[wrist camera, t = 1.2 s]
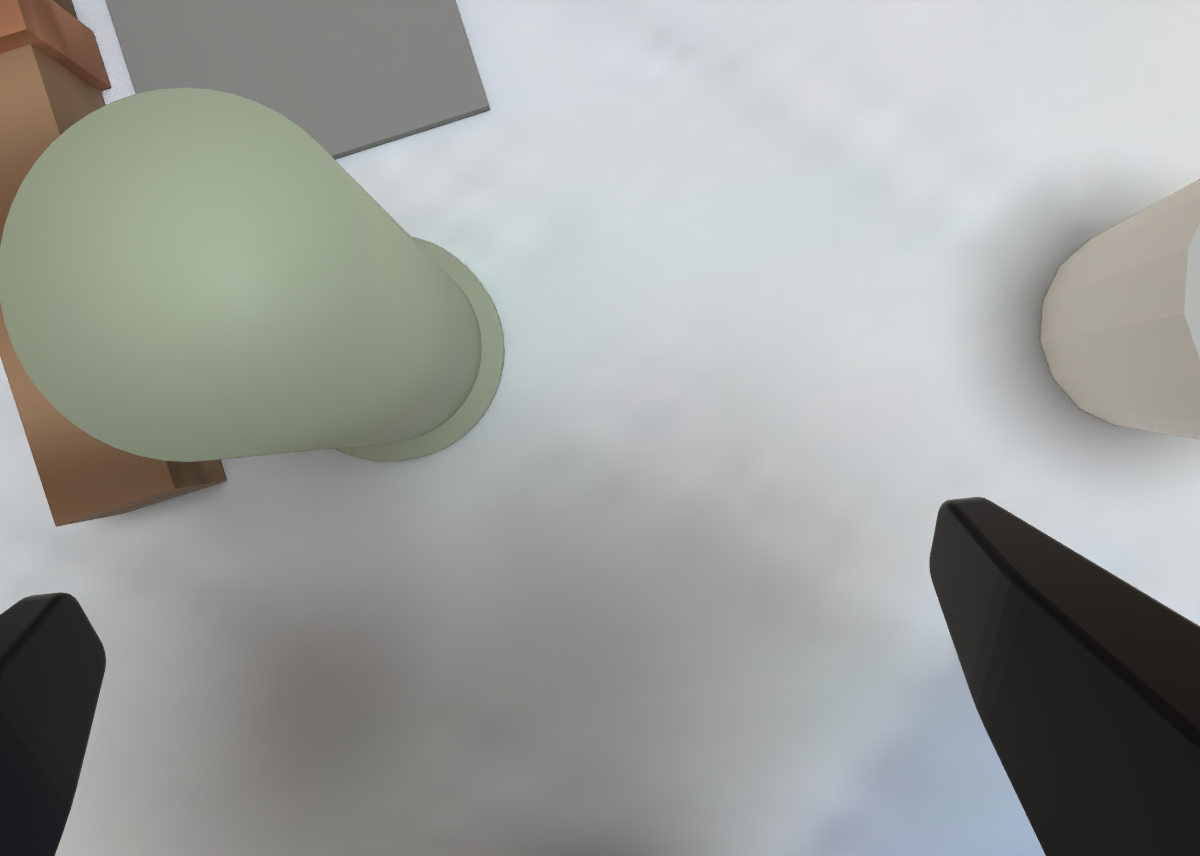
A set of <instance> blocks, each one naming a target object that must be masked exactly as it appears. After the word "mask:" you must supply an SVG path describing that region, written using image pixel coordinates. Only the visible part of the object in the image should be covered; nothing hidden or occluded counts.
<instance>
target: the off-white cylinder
mask: <svg viewBox="0 0 1200 856" xmlns="http://www.w3.org/2000/svg"><path fill="white" fill-rule="evenodd" d="M1040 342H1041V345H1042V348H1043V351H1044V354H1045V357H1046V360H1047V362H1048V365H1049V368H1050V371H1051V374H1052V377H1053V379H1054V380H1055V381H1056V383H1057V384H1058V385H1059V386H1060V387H1061V388H1062V389H1063V391H1064V392H1065V393H1066V394H1067V395H1068V396H1069V397H1070V398H1071V400H1072V401H1073V402H1074V403H1075V404H1076V405H1077V406H1078V407H1079V408H1080V409H1082V410H1084V411H1086V412H1088V413H1090V414H1092V415H1094V416H1096V417H1098V418H1100V419H1102V420H1104V421H1106V422H1108V423H1110V424H1112V425H1115V426H1120V427H1127V428H1133V429H1139V430H1145V431H1151V432H1158V433H1164V434H1170V435H1176V436H1182V437H1189V438H1195V439H1200V179H1198V180H1197V181H1195V182H1193V183H1191V184H1189V185H1188V186H1186V187H1184V188H1182V189H1180V190H1178V191H1177V192H1175V193H1173V194H1171V195H1169V196H1168V197H1166V198H1164V199H1162V200H1160V201H1159V202H1157V203H1155V204H1153V205H1151V206H1149V207H1148V208H1146V209H1144V210H1142V211H1140V212H1139V213H1137V214H1135V215H1133V216H1131V217H1129V218H1128V219H1126V220H1124V221H1122V222H1120V223H1119V224H1117V225H1115V226H1113V227H1111V228H1109V229H1108V230H1106V231H1104V232H1102V233H1100V234H1099V235H1097V236H1095V237H1093V238H1091V239H1090V240H1088V241H1087V242H1086V243H1085V244H1084V245H1083V246H1082V247H1081V248H1079V249H1078V250H1077V251H1076V252H1075V253H1074V254H1073V255H1072V256H1070V257H1069V258H1068V259H1067V260H1066V261H1065V262H1064V263H1063V264H1061V265H1060V267H1059V269H1058V271H1057V273H1056V275H1055V277H1054V279H1053V281H1052V283H1051V285H1050V287H1049V290H1048V292H1047V294H1046V296H1045V298H1044V300H1043V304H1042V320H1041V337H1040Z"/></svg>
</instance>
